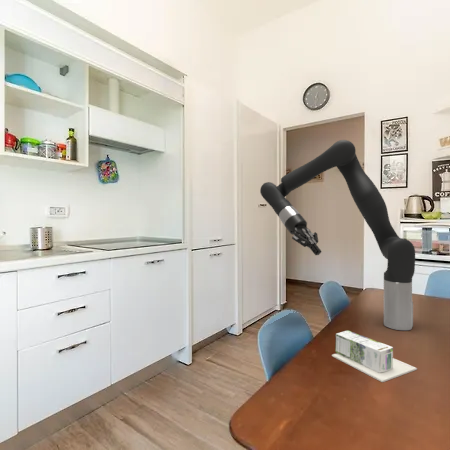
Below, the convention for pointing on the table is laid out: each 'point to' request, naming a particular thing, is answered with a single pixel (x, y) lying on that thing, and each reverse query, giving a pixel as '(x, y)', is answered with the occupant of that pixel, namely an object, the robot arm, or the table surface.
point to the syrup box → (364, 351)
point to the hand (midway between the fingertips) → (318, 253)
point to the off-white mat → (396, 371)
